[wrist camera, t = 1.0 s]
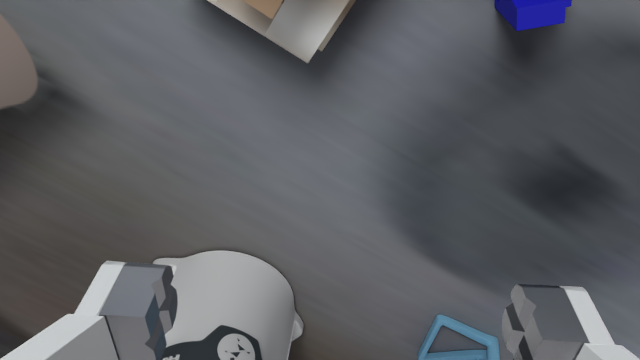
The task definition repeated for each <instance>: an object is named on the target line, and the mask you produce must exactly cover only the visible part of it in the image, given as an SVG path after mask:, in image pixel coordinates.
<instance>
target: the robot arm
mask: <svg viewBox="0 0 640 360" xmlns="http://www.w3.org/2000/svg"><path fill="white" fill-rule="evenodd" d="M510 296H511V298H512V301H513V303H512V304H510V305H509V306H508V307H506V308H505V311H504V314H503V317H502V333H503V339H504V342H505V346H506V348H507V349H508V350H509V351H510V352H511V353H512V354H514V355H515V356H514V358H513V360H640V359H639V358H637V357H636V356H635V355H634V354H632V353H631V352H630V351H628V350H627V349H626V348H625V347H623V346H622V345H615V343H614V342H613V340H612V338H611V336H610V334H609V332H608V330H607V328H606V327H605V325H604V323H603V321H602V319H601V317H600V315H599V313H598V312H597V310H596V308H595V306H594V304H593V302H592V300H591V298H590V297H589V295H588V293H587V291H586V290H585V289H584V288H583V287H570V286H550V285H527V284H516V285H515V286H514V287H513V290H512V292H511V295H510ZM303 327H304V325H303V322H302V320H301V318H300V317H299V315H298V314H297V313H296V311H295V306H294V295H293V292H292V289H291V287H290V285H289V283H288V282H287V280H286V279H285V278H284V276H283V275H282V274H281V273H280V272H279V271H278V270H276V269H275V268H274V267H272V266H271V265H269V264H268V263H266V262H264V261H262V260H260V259H258V258H256V257H253V256H250V255H247V254H243V253H239V252H233V251H208V252H203V253H199V254H195V255H192V256H189V257H186V258H160V259H156V260H155V261H154V262H153V263H152V264H147V263H134V262H117V261H106V262H105V263H104V264H102V265H101V267H100V269H99V271H98V272H97V274H96V276H95V278H94V279H93V281H92V283H91V285H90V286H89V288H88V290H87V292H86V294H85V295H84V297H83V299H82V301H81V302H80V304H79V306H78V308H77V310H76V311H75V313H74V314H67V315H65V316H64V317H62V318H61V319H59V320H58V321H56V322H55V323H53V324H52V325H50V326H49V327H47V328H46V329H44V330H43V331H41V332H40V333H39V334H37V335H36V336H34V337H33V338H31V339H30V340H28V341H27V342H25V343H24V344H22V345H21V346H19V347H18V348H16V349H15V350H13V351H12V352H10V353H9V354H7V355H6V356H4V357H3V358H1V359H0V360H288V357H289V351H290V346H291V342H292V341H293V340H295V339H296V338H298V337H299V336H301V334H302V332H303Z"/></svg>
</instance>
